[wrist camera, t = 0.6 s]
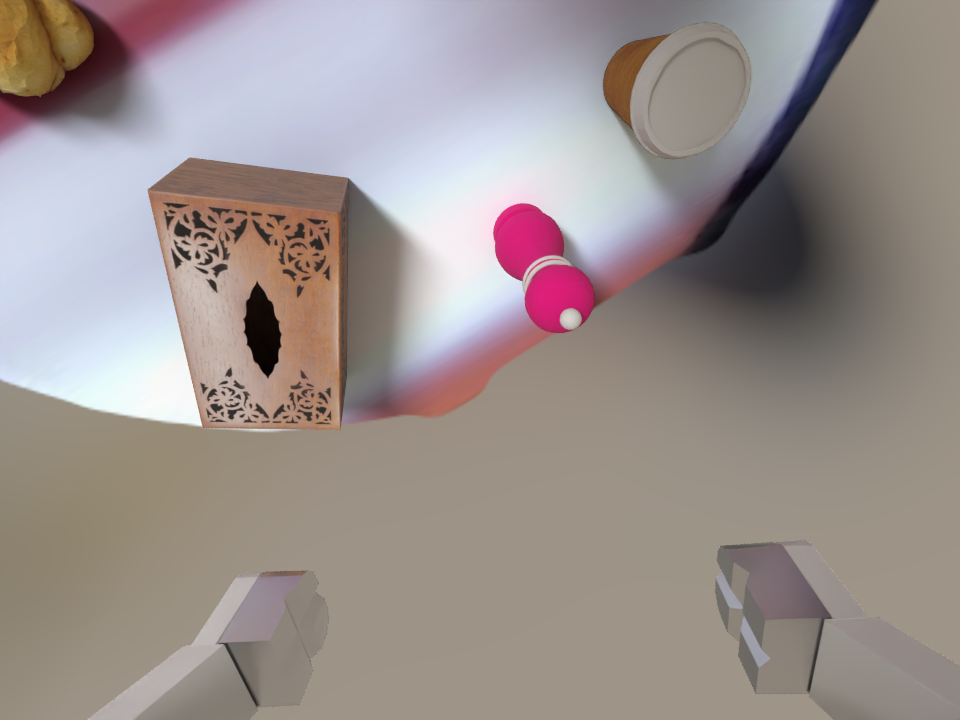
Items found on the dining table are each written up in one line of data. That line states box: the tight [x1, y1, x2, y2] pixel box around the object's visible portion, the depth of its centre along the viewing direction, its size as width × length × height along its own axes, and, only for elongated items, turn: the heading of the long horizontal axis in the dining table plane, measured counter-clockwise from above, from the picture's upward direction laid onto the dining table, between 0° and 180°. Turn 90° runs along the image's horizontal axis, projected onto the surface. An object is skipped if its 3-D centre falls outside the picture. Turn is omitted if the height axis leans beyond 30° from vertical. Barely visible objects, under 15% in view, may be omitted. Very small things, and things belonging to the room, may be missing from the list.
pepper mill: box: [493, 204, 595, 333], centre depth 46 cm, size 7×7×20 cm
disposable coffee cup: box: [603, 22, 751, 159], centre depth 41 cm, size 10×10×12 cm
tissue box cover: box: [148, 158, 348, 430], centre depth 50 cm, size 26×14×10 cm, turn 170°
